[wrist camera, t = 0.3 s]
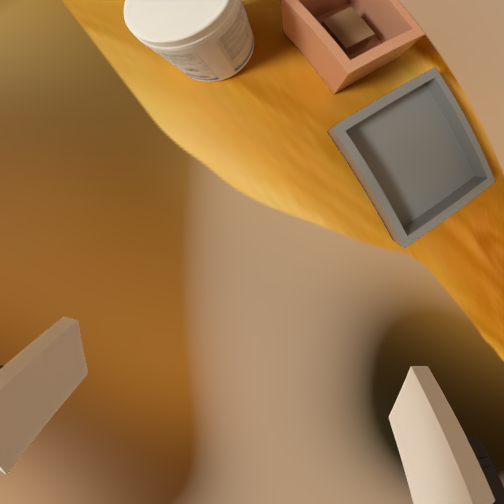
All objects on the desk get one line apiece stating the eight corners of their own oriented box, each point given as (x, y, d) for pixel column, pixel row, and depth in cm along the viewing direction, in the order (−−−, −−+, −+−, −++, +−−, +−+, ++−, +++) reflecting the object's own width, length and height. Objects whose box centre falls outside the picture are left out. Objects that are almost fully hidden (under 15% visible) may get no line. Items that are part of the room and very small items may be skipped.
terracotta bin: (282, 30, 31) (280, -4, 22) (347, -2, 28) (360, -39, 20) (333, 94, 32) (348, 74, 24) (397, 58, 30) (425, 33, 21)
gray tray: (326, 131, 34) (331, 127, 30) (422, 74, 30) (435, 66, 26) (392, 239, 36) (404, 248, 32) (478, 178, 33) (495, 181, 29)
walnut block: (318, 34, 29) (322, 20, 26) (345, 20, 29) (351, 6, 25) (340, 59, 30) (346, 48, 26) (366, 45, 29) (375, 33, 25)
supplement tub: (231, 4, 30) (204, -63, 16) (270, 59, 32) (260, 1, 18) (163, 42, 32) (106, -6, 18) (197, 99, 34) (147, 65, 20)
